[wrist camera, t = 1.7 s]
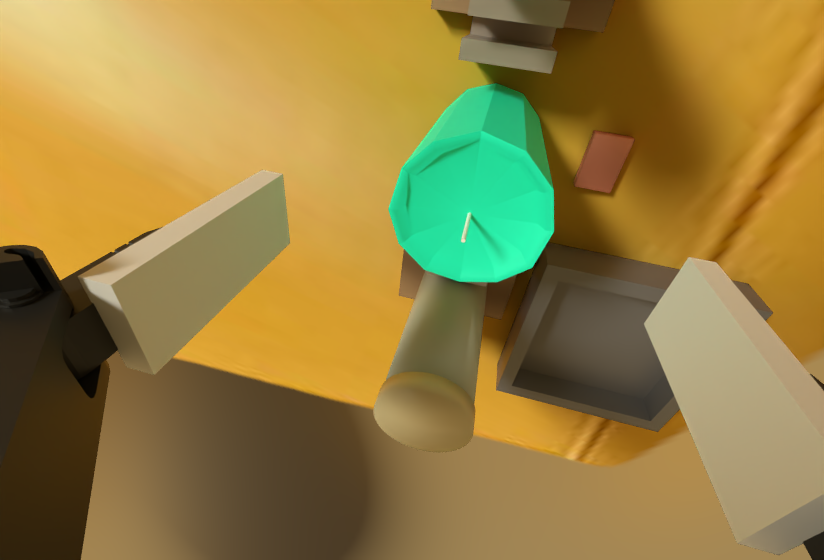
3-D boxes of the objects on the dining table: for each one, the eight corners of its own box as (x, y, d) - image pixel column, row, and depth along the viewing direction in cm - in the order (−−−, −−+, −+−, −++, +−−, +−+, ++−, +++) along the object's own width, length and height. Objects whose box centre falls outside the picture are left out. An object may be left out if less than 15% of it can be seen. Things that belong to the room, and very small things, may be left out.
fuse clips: (460, -200, 14) (437, -285, 10) (777, -177, 13) (896, -265, 9) (402, 288, 29) (383, 332, 25) (546, 321, 28) (551, 374, 24)
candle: (565, 127, 20) (607, 228, 11) (494, 206, 24) (478, 335, 14) (478, 57, 19) (440, 101, 10) (418, 151, 23) (348, 250, 13)
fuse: (429, 239, 25) (375, 378, 15) (496, 254, 24) (484, 407, 15) (421, 291, 28) (371, 436, 18) (481, 305, 27) (462, 462, 18)
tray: (544, 241, 24) (547, 264, 22) (748, 283, 23) (773, 312, 21) (497, 364, 32) (496, 389, 30) (647, 401, 30) (657, 431, 28)
